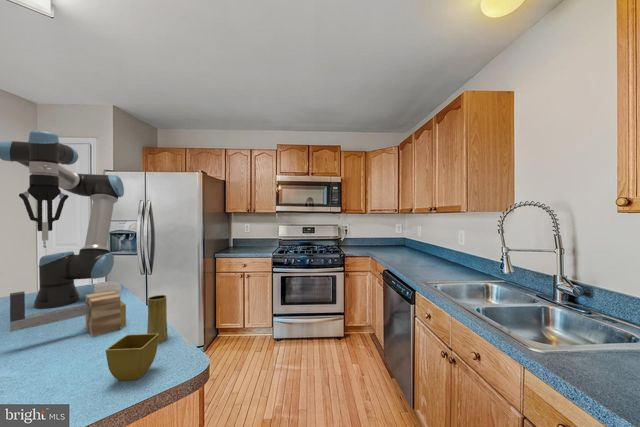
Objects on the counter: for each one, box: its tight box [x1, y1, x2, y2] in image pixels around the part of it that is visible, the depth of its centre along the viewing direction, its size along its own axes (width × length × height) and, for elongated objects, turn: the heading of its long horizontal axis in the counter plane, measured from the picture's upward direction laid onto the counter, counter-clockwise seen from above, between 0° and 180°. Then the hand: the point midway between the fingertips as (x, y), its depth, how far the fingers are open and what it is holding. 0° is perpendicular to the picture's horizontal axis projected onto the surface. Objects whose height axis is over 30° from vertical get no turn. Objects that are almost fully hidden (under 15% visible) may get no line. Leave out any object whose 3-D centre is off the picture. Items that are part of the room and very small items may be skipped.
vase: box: [146, 294, 169, 344], centre depth 91 cm, size 6×6×14 cm
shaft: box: [9, 290, 90, 332], centre depth 93 cm, size 3×25×11 cm, turn 139°
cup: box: [93, 280, 122, 297], centre depth 117 cm, size 9×9×12 cm
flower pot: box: [105, 333, 159, 382], centre depth 72 cm, size 9×9×9 cm
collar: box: [120, 300, 127, 328], centre depth 104 cm, size 7×2×8 cm, turn 49°
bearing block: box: [85, 290, 122, 338], centre depth 100 cm, size 12×8×12 cm, turn 48°
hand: (45, 240), depth 100 cm, fingers closed
